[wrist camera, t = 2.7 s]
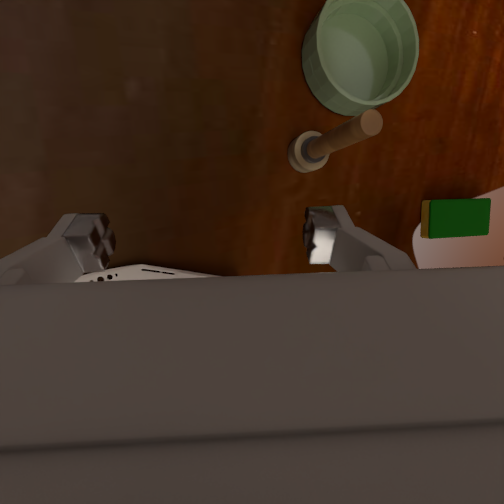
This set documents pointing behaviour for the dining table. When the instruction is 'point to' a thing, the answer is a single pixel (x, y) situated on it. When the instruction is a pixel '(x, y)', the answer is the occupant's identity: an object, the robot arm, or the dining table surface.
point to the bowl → (360, 53)
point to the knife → (140, 274)
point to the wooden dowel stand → (331, 141)
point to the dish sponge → (455, 218)
